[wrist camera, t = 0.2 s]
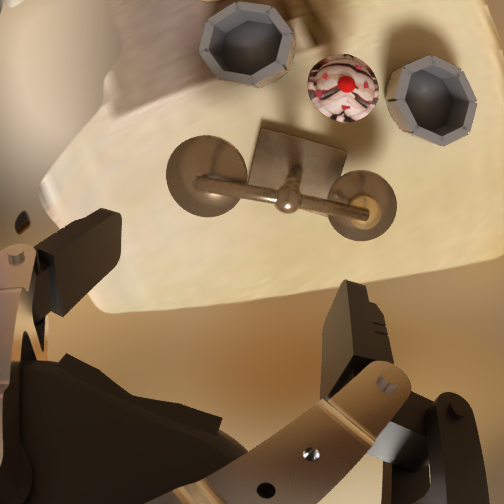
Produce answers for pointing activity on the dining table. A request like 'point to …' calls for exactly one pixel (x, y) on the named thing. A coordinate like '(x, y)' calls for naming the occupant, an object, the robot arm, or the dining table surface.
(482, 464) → the robot arm
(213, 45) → the cup
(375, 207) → the balance
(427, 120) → the cup
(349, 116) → the ice cream cone
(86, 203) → the dining table surface
